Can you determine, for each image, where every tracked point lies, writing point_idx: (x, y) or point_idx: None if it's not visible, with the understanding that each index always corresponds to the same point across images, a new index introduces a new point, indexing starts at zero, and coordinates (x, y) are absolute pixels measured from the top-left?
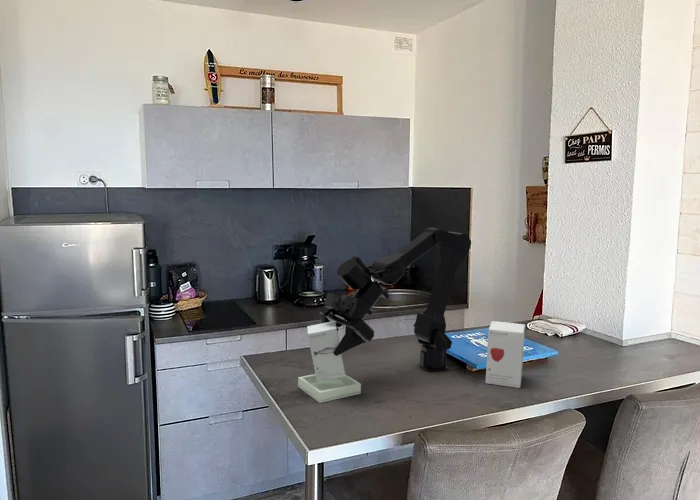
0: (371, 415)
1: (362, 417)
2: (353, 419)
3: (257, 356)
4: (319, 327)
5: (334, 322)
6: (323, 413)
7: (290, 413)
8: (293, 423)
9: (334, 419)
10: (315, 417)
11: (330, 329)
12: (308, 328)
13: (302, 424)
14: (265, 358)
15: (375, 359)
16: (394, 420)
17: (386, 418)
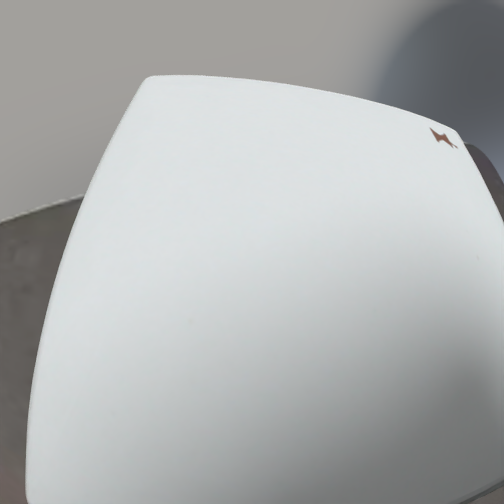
0: (24, 456)
1: (12, 426)
2: (3, 396)
3: (489, 170)
4: (325, 195)
5: (491, 480)
6: (45, 316)
7: (70, 216)
8: (17, 222)
9: (8, 340)
10: (28, 286)
11: (37, 387)
12: (369, 104)
13: (5, 245)
14: None
15: (484, 498)
16: (3, 495)
17: (11, 484)
